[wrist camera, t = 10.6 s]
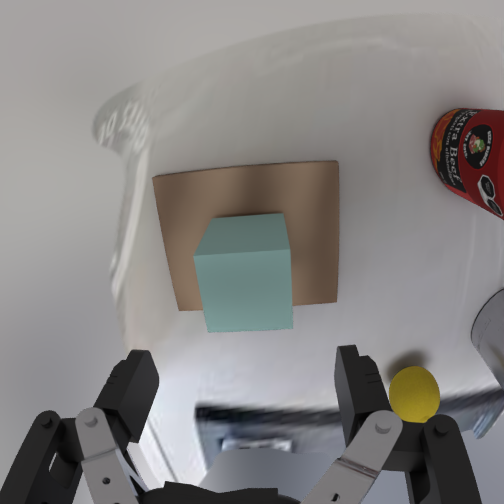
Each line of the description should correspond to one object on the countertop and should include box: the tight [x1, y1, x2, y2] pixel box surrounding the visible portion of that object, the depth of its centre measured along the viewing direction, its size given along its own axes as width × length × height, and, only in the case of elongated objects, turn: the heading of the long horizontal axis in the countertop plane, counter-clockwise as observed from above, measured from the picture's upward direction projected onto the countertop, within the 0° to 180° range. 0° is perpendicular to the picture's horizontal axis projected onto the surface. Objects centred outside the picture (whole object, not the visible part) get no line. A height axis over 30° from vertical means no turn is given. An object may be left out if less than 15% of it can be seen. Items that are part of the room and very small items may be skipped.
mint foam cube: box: [193, 213, 293, 332], centre depth 21 cm, size 5×5×7 cm
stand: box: [152, 161, 339, 311], centre depth 22 cm, size 14×12×8 cm
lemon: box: [389, 366, 440, 423], centre depth 27 cm, size 6×6×8 cm
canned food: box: [431, 108, 504, 220], centre depth 16 cm, size 8×8×11 cm
